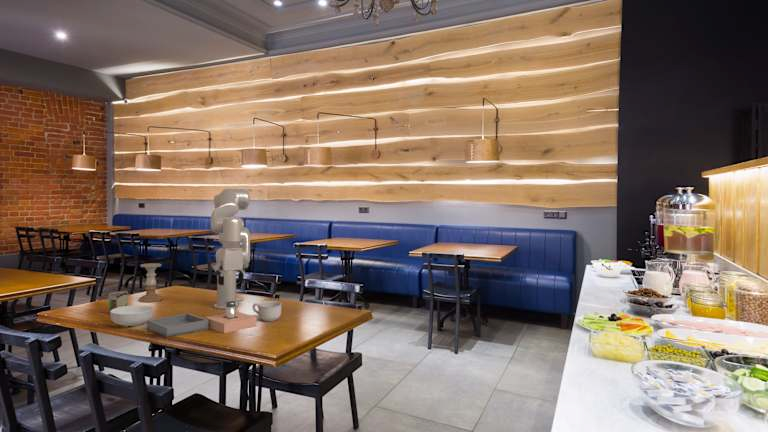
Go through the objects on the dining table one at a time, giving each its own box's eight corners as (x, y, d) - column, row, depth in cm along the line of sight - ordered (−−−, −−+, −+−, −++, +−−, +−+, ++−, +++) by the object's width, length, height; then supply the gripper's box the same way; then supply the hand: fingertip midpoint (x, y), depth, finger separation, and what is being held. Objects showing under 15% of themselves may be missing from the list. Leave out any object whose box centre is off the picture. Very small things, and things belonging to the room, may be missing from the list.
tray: (187, 321, 207) (187, 313, 207) (208, 328, 196) (208, 319, 196) (147, 329, 193) (147, 320, 193) (166, 337, 182) (167, 328, 182)
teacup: (285, 318, 217) (285, 302, 216) (273, 323, 206) (273, 306, 206) (261, 315, 221) (261, 299, 221) (247, 320, 211) (247, 303, 211)
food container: (115, 310, 226) (115, 290, 226) (128, 310, 227) (128, 290, 226) (102, 316, 214) (102, 295, 214) (115, 316, 214) (115, 295, 214)
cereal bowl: (122, 332, 189) (122, 315, 189) (102, 325, 198) (102, 310, 198) (161, 323, 204) (161, 308, 203) (140, 318, 212) (140, 303, 212)
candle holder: (133, 301, 246) (133, 265, 246) (148, 297, 259) (148, 262, 258) (153, 303, 244) (153, 266, 244) (167, 298, 257) (168, 263, 256)
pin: (232, 324, 204) (232, 300, 204) (237, 326, 201) (237, 301, 201) (224, 326, 201) (224, 301, 201) (229, 327, 198) (229, 303, 198)
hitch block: (236, 319, 212) (236, 311, 212) (256, 325, 202) (256, 317, 202) (204, 326, 200) (204, 317, 200) (224, 333, 190) (224, 323, 190)
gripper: (243, 244, 209) (243, 280, 209) (209, 245, 196) (208, 285, 196) (253, 244, 205) (252, 282, 205) (218, 246, 191) (217, 286, 191)
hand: (231, 283), depth 200 cm, fingers open, 9 cm apart
